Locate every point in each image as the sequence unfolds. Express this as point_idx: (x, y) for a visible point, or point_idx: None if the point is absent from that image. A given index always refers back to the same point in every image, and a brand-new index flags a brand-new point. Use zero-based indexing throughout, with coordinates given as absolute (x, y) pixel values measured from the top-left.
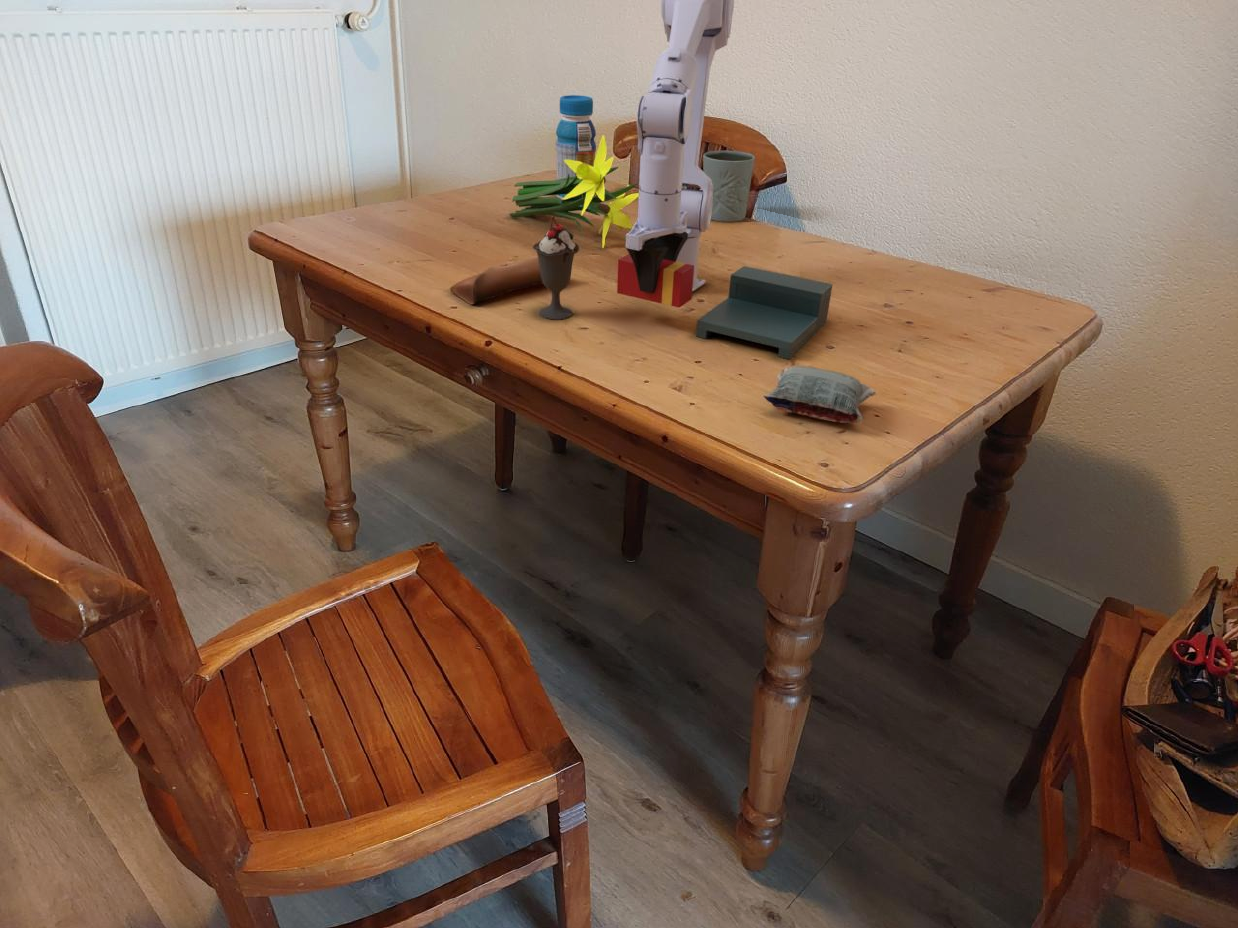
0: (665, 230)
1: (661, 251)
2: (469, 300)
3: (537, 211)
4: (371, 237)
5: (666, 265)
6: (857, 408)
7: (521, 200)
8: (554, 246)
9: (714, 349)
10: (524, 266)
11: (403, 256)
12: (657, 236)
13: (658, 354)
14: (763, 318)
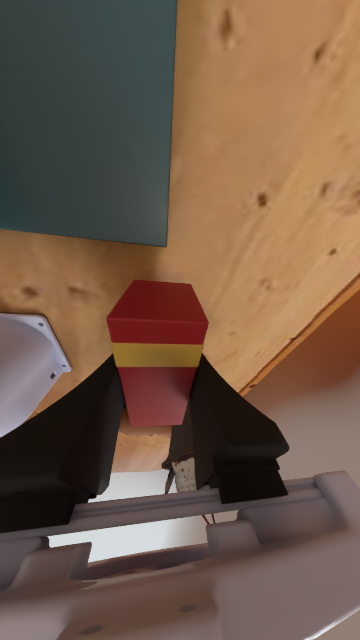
0: (292, 637)
1: (280, 438)
2: None
3: None
4: (134, 460)
5: (165, 372)
6: None
7: None
8: None
9: (201, 188)
10: (151, 431)
11: (147, 448)
12: (306, 550)
13: (246, 271)
14: (20, 6)
